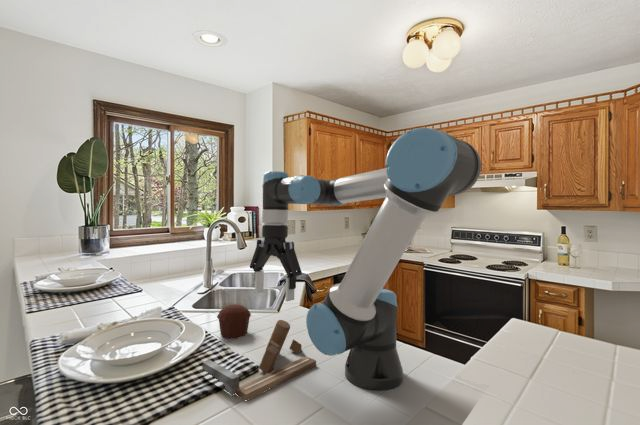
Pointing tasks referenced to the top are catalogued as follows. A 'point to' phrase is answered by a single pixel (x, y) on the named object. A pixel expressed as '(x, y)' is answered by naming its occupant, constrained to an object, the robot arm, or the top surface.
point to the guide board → (260, 383)
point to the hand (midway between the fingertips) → (273, 296)
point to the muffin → (234, 321)
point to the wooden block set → (277, 346)
